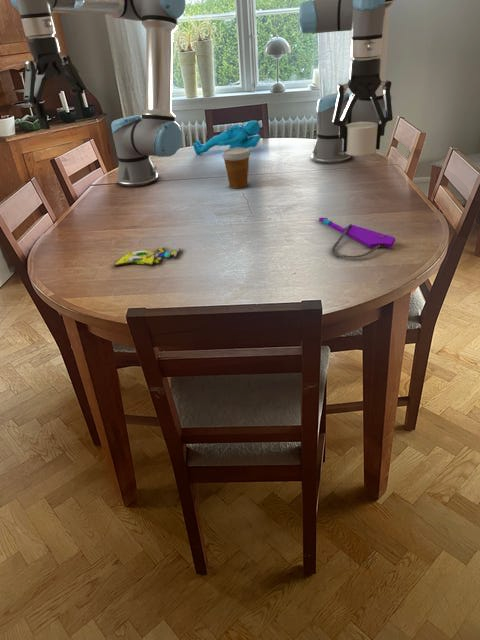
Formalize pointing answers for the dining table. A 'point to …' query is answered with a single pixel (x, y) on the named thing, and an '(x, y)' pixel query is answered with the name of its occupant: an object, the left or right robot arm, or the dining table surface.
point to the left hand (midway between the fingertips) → (64, 123)
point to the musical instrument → (361, 237)
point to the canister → (361, 138)
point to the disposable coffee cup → (237, 166)
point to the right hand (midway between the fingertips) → (360, 149)
